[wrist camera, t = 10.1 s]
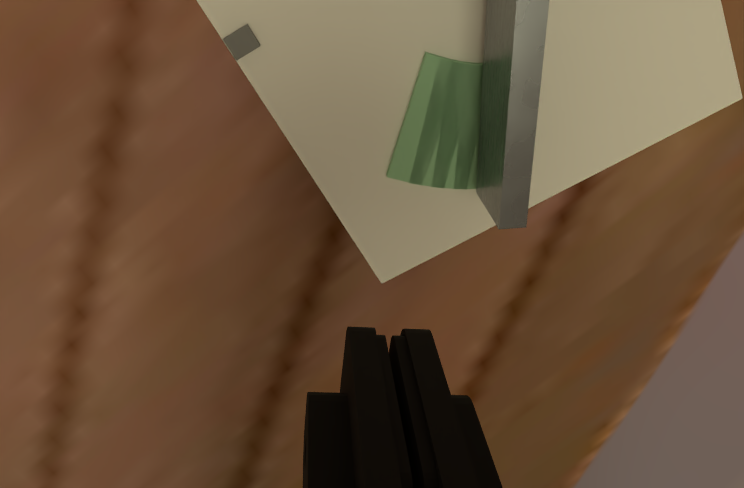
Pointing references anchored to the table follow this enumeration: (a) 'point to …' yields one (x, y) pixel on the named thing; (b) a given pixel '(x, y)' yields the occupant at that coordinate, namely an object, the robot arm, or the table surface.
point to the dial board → (465, 101)
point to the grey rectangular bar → (510, 106)
